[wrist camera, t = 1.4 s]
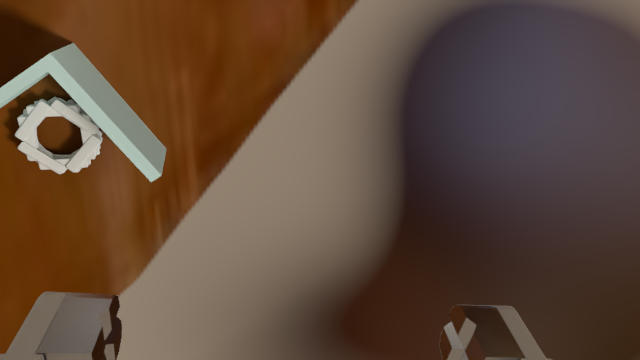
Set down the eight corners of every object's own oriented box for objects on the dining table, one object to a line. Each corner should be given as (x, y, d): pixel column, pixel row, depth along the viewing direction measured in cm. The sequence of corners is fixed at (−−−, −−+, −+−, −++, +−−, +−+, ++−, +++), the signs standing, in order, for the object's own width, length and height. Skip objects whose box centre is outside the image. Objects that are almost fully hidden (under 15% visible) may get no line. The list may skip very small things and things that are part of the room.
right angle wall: (-37, 120, 39) (-85, 147, 32) (75, 42, 39) (50, 53, 32) (68, 215, 45) (45, 255, 38) (166, 147, 44) (161, 175, 38)
